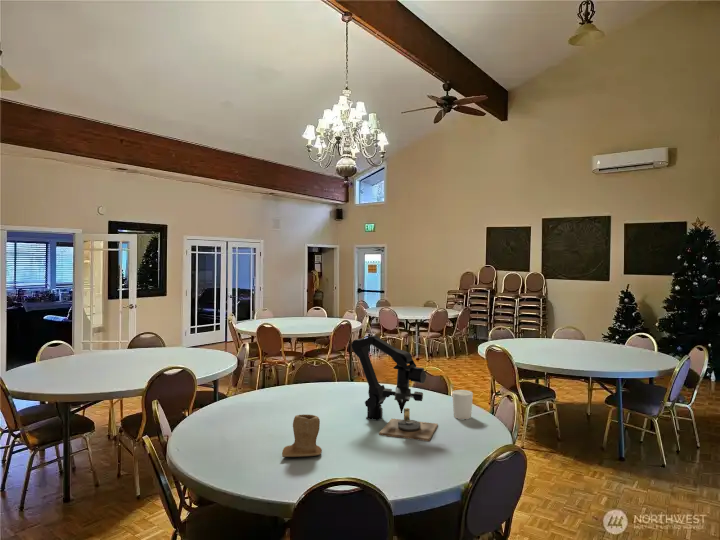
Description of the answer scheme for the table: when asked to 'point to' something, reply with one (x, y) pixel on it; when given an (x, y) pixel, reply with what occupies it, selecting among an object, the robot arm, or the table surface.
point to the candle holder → (462, 404)
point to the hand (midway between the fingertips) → (401, 413)
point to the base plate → (422, 434)
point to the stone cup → (304, 437)
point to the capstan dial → (408, 423)
